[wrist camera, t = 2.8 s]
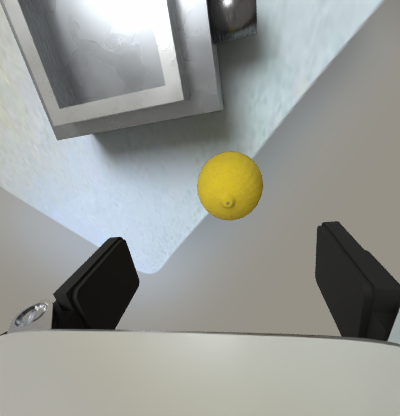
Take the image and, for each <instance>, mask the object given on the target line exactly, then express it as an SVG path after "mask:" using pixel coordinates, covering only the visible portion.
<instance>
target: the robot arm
mask: <svg viewBox="0 0 400 416" xmlns="http://www.w3.org/2000/svg"><path fill="white" fill-rule="evenodd" d="M315 277H316V281H317V284H318V286H319V288H320V291H321V293H322V295H323V297H324V299H325V301H326V304H327V306H328V308H329V310H330V312H331V314H332V316H333V318H334V320H335V323H336V325H337V327H338V329H339V331H340V334H341V336H342V337H339V336H324V335H299V334H272V333H239V332H203V331H202V332H201V331H161V330H160V331H159V330H115V328H116V326H117V324H118V323H119V321H120V319H121V317H122V315H123V314H124V312H125V310H126V308H127V306H128V305H129V303H130V301H131V299H132V297H133V296H134V294H135V292H136V290H137V288H138V286H139V278H138V275H137V272H136V269H135V266H134V263H133V260H132V257H131V254H130V251H129V249H128V246H127V243H126V241H125V240H124V239H123V238H121V237H113V238H109V239H108V240H107V241H106V242H105V243H104V244H103V245H102V246H101V247H100V248H99V249H98V250H97V251H96V252H95V253H94V254H93V255H92V256H91V257H90V258H89V259H88V260H87V261H86V262H85V263H84V264H83V265H82V266H81V267H80V268H79V269H78V270H77V271H76V272H75V273H74V274H73V275H72V276H71V277H70V278H69V279H68V280H67V281H66V282H65V283H64V284H63V285H62V286H61V287H60V288H59V289H58V290H57V291H56V292H55V293H54V294H53V295H54V297H55V298H56V301H55V302H54V303H53V302H52V301H50V300H41V301H38V302H35V303H33V304H31V305H29V306H27V307H26V308H24V309H23V310H21V311H20V312H19V313H18V314H17V315H16V316H15V317H14V318H13V319H12V321H11V323H10V325H9V329H8V331H7V332H5V333H3V334H1V335H0V416H400V284H399V283H398V282H397V281H396V280H395V279H394V278H393V277H392V276H391V275H390V273H388V271H387V270H386V269H385V268H384V267H383V266H382V265H381V264H380V263H379V262H378V261H377V260H376V259H375V258H374V256H372V255H371V253H370V252H368V251H366V250H364V249H363V248H362V247H361V246H360V245H359V244H358V243H357V242H356V240H355V239H354V238H353V237H352V236H351V235H350V234H349V233H348V232H347V231H346V229H345V228H344V227H343V226H342V225H341V224H340V223H339V222H337V221H335V222H323V223H322V226H318V228H317V246H316V270H315Z"/></svg>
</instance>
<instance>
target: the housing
mask: <svg viewBox="0 0 400 416" xmlns="http://www.w3.org/2000/svg"><path fill="white" fill-rule="evenodd" d="M0 3H1V5H2V8H3V10H4V12H5V15H6V17H7V20H8V22H9V24H10V27H11V29H12V32H13V34H14V37H15V39H16V41H17V44H18V46H19V49H20V51H21V54H22V56H23V58H24V61H25V63H26V66H27V68H28V71H29V73H30V75H31V78H32V80H33V83H34V85H35V88H36V90H37V92H38V95H39V97H40V100H41V102H42V105H43V107H44V109H45V112H46V114H47V117H48V119H49V122H50V124H51V126H52V129H53V131H54V134H55V136H56V138H57V140H62V139H67V138H73V137H78V136H84V135H89V134H95V133H100V132H105V131H111V130H116V129H122V128H127V127H133V126H138V125H143V124H149V123H154V122H160V121H165V120H171V119H176V118H181V117H187V116H192V115H198V114H203V113H209V112H214V111H219V110H224V106H223V97H222V88H221V80H220V71H219V62H218V54H217V45H216V44H219V43H223V42H227V41H231V40H235V39H239V38H243V37H247V36H251V35H255V34H256V26H257V13H256V0H0Z"/></svg>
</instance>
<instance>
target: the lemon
mask: <svg viewBox="0 0 400 416" xmlns="http://www.w3.org/2000/svg"><path fill="white" fill-rule="evenodd" d="M197 188H198V196H199V198H200V201H201V203H202V205H203V206H204V208H205V209H206V210H207V211H208V212H209V213H210V214H211V215H213V216H215V217H217V218H219V219H223V220H235V219H239V218H242V217H244V216H246V215H247V214H249V213H250V212H251V211H252V210H253V209H254V208H255V207H256V205H257V204H258V202H259V200H260V197H261V194H262V189H263V183H262V175H261V173H260V170H259V168H258V166H257V165H256V164H255V162H254V161H253V160H252V159H250V158H249V157H248V156H246V155H244V154H241V153H239V152H223V153H220V154H218V155H215V156H214V157H213V158H211V159H210V160H208V162H207V163H206V164H205V165H204V166H203V168H202V170H201V172H200V174H199V178H198V184H197Z"/></svg>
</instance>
